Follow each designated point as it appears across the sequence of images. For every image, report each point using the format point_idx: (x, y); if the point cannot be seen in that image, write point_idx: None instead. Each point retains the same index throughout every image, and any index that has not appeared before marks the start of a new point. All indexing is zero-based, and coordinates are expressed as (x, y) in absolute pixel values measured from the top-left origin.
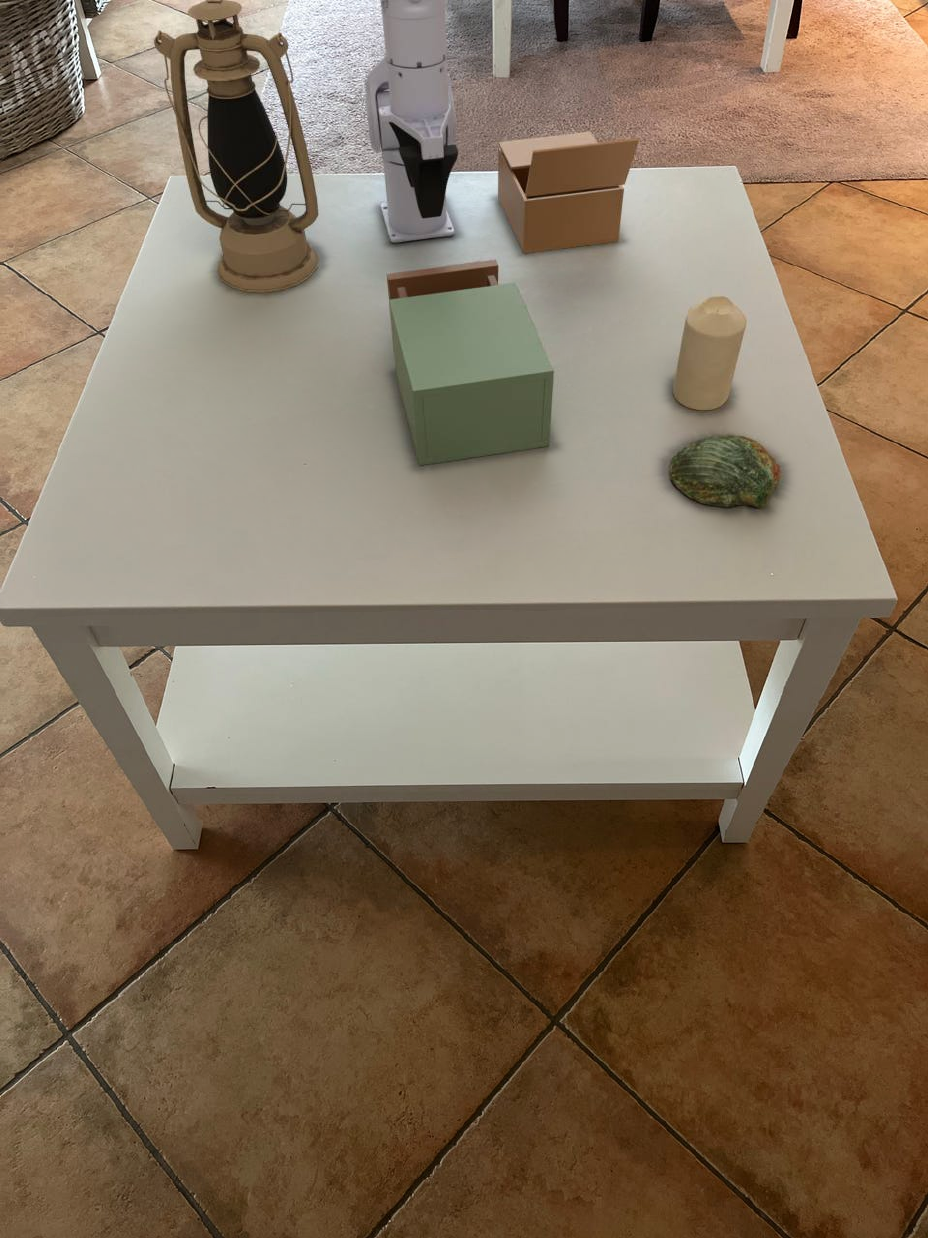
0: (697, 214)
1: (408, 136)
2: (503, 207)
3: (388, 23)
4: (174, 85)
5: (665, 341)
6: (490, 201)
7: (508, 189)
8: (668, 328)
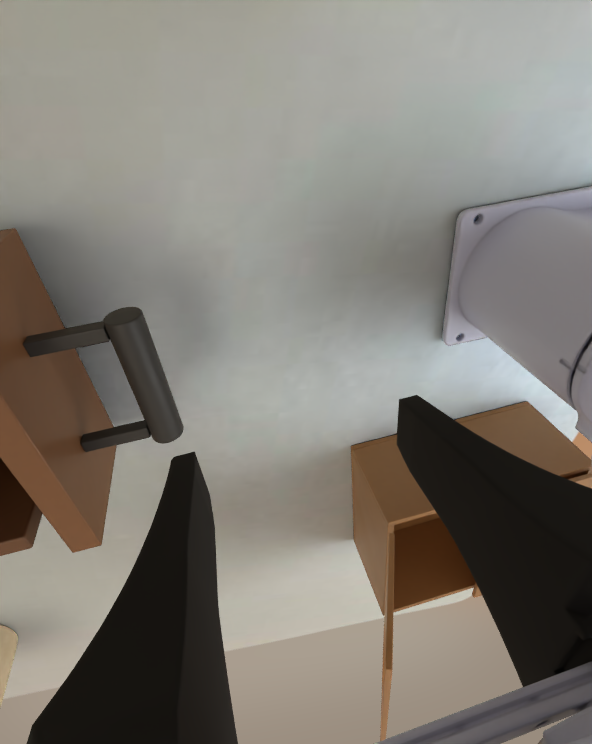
0: None
1: (510, 547)
2: (491, 414)
3: None
4: None
5: (101, 602)
6: (525, 390)
7: None
8: None
